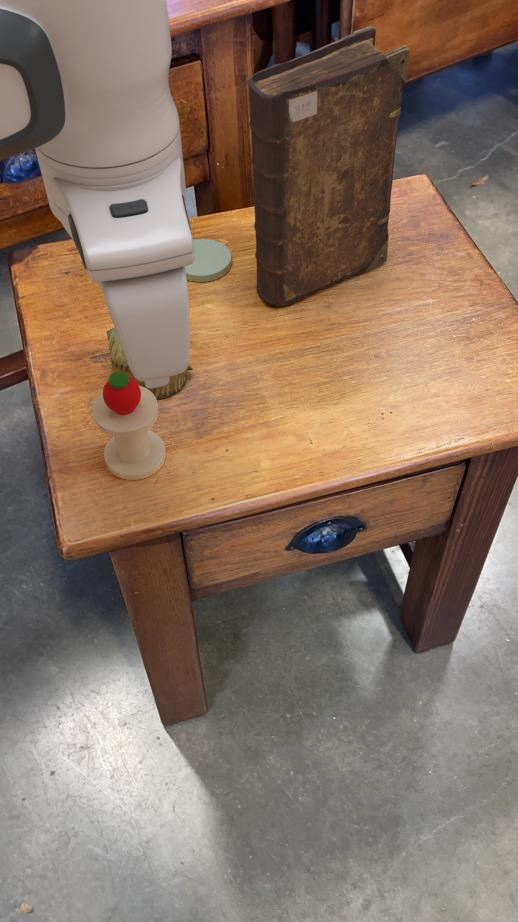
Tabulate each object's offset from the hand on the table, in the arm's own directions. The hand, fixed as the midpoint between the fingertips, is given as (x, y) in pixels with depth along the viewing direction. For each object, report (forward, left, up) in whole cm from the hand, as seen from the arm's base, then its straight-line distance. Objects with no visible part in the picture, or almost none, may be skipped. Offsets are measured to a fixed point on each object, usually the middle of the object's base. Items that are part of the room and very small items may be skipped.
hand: (143, 338), depth 63 cm
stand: (-3, +5, -19) cm, 20 cm away
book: (+21, +29, -20) cm, 41 cm away
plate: (+8, +34, -19) cm, 40 cm away
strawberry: (-3, +5, -12) cm, 14 cm away
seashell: (0, +17, -20) cm, 26 cm away
